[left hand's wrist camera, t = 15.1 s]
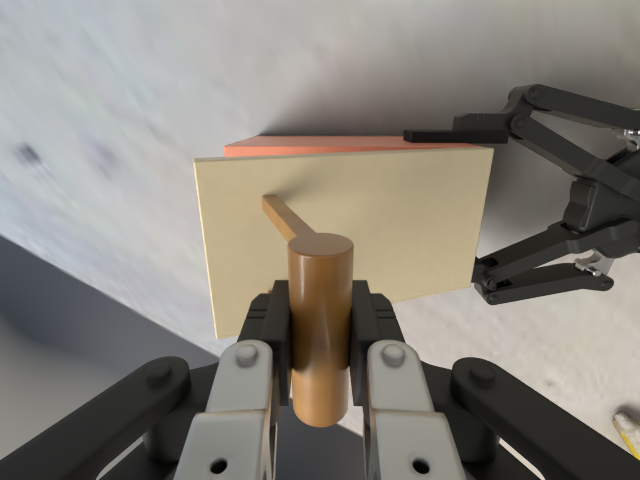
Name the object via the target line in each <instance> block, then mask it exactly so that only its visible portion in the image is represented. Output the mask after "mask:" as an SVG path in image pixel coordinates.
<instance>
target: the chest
mask: <svg viewBox="0 0 640 480" xmlns="http://www.w3.org/2000/svg"><path fill="white" fill-rule="evenodd" d="M403 137H404V136H362V135H257V136H255V137H252V138H248V139H245V140H242V141H239V142H235V143H232V144H229V145H226V146H224V154H225V157H240V156H264V155H289V154H314V153H339V152H364V151H389V150H413V149H438V148H463V147H482V146H478V145H473V144H468V143H410V142H407V141H405V140H403Z"/></svg>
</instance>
